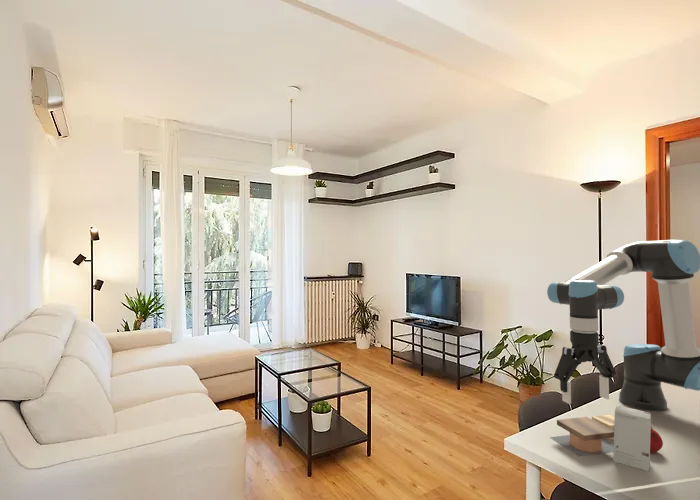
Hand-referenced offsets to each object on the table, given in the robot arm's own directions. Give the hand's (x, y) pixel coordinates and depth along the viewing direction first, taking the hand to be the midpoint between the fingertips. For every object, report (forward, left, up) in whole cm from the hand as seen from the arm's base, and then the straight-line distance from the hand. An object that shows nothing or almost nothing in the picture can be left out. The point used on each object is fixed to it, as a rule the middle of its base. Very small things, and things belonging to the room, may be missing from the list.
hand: (585, 400), depth 119 cm
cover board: (0, 0, -9) cm, 9 cm away
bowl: (0, 0, -14) cm, 14 cm away
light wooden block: (-14, -5, -14) cm, 20 cm away
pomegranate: (-16, +7, -15) cm, 23 cm away
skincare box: (-5, +11, -15) cm, 19 cm away
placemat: (-1, -1, -14) cm, 14 cm away
